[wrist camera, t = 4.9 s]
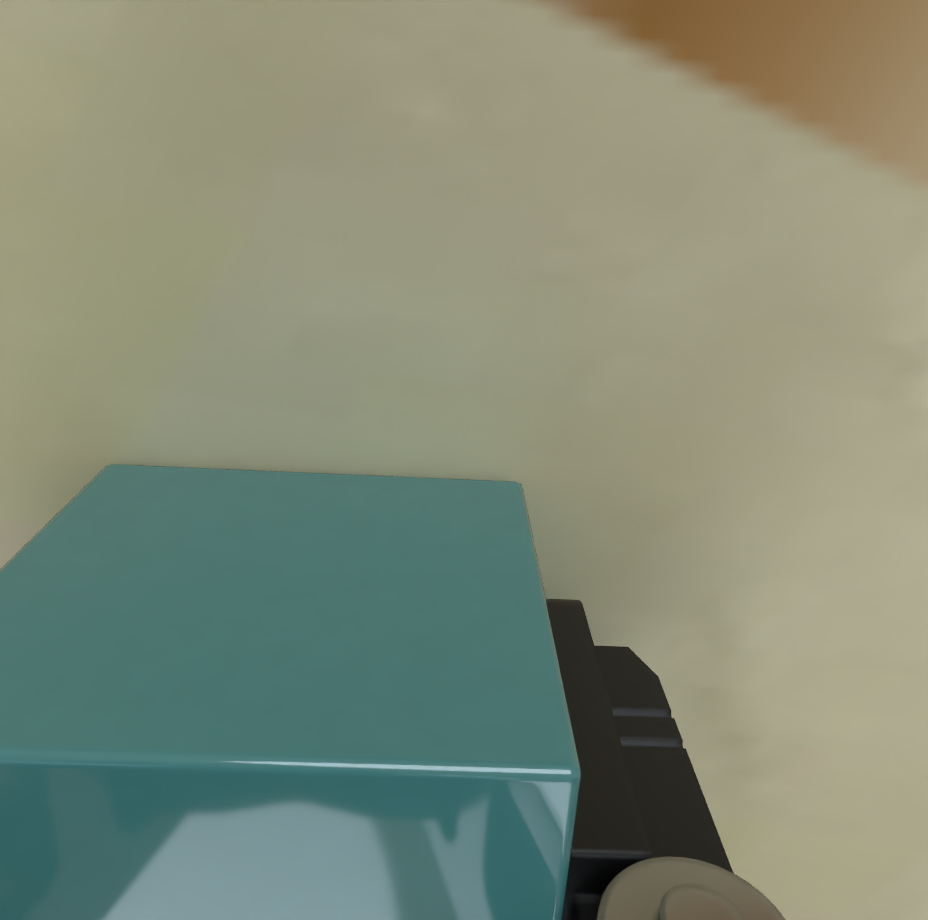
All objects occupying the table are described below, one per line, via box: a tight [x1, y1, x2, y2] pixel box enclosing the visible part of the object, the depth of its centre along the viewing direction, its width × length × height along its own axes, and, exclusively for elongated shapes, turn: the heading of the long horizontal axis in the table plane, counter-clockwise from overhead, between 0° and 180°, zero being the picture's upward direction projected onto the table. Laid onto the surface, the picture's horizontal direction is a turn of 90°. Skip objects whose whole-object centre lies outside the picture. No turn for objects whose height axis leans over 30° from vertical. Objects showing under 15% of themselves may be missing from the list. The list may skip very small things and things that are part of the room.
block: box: [0, 464, 582, 920], centre depth 8 cm, size 4×4×4 cm
